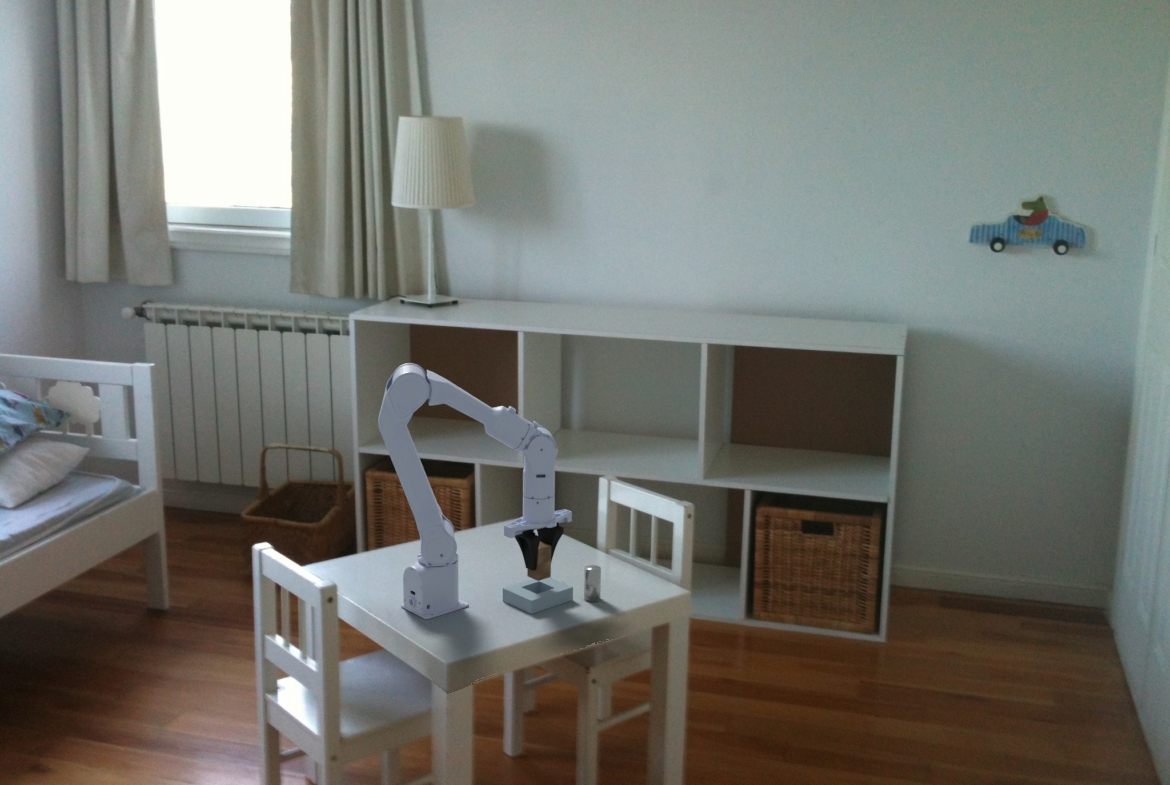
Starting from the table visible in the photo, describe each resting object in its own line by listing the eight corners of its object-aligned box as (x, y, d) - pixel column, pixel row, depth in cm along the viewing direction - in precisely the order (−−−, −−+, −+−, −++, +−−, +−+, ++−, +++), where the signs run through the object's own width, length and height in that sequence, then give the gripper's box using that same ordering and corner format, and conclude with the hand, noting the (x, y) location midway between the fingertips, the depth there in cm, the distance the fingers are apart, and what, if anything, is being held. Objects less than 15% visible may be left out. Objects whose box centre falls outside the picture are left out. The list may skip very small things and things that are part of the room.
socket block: (531, 614, 201) (531, 600, 201) (502, 600, 207) (502, 588, 206) (572, 599, 208) (573, 587, 207) (544, 587, 213) (544, 575, 213)
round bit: (592, 603, 206) (592, 572, 205) (580, 598, 208) (581, 567, 207) (603, 599, 208) (604, 568, 207) (592, 594, 210) (592, 564, 209)
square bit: (538, 580, 204) (538, 549, 203) (527, 576, 206) (527, 544, 205) (550, 577, 206) (551, 545, 205) (539, 572, 208) (540, 541, 207)
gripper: (522, 507, 195) (521, 582, 198) (583, 492, 205) (582, 563, 208) (496, 498, 200) (496, 571, 203) (557, 483, 210) (556, 553, 213)
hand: (538, 566), depth 206 cm, fingers closed on square bit, 3 cm apart
